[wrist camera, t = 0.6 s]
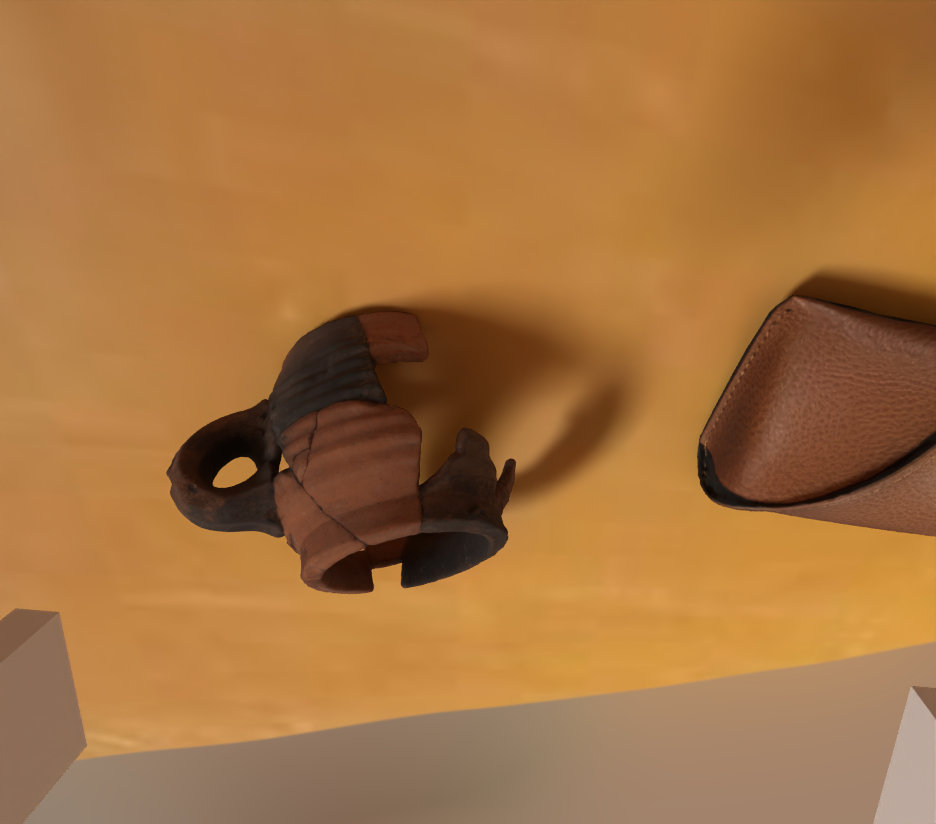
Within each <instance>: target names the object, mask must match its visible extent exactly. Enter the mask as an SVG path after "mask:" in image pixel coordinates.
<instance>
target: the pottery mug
mask: <svg viewBox="0 0 936 824" xmlns="http://www.w3.org/2000/svg"><path fill="white" fill-rule="evenodd" d="M427 356H428V345H427V342H426V340H425V339H424V337H423V335H422V332H421V328H420V326H419V323H418V320H417V318H416V316H414V315H412V314H410V313H401V312H374V313H368V314H361V315H359V316H349V317H346V318H342V319H339V320H337V321H333V322H328V323H325V324H324V325H322V326H320V327H319V328H317V329H315V330H313V331H310V332H308V333H307V334H306V335H304V336H303V337H301V338H300V339H299V340H298V341H297V342H296V344H295V345H294V347H293V348H292V349H291V350H290V351H289V353H288V355H287V356H286V358H285V360H284V362H283V366H282V370H281V372H280V374H279V376H278V379H277V381H276V383H275V385H274V388H273V392H272V393H271V394H270V396H269V399H268V400H267V399H264V400H262V401H261V402H260V403H258V404H257V405H256V406H254V407H252V408H250V409H247V410H244V411H240V412H236V413H233V414H230V415H227V416H224V417H221V418H219V419H217V420H215V421H213V422H211V423H209V424H207V425H206V426H204V427H202V428H201V429H199V430H198V431H197V432H196V433H194V434H193V435H192V436H191V437H190V438H189V439H188V440H187V441H186V442H185V443H184V444H183V445H182V446H181V448H180V450H179V451H178V452H177V453H176V455H175V457H174V458H173V460H172V464H171V466H170V467H169V469H168V470H167V472H166V473H167V476H168V477H169V478H170V480H171V483H172V487H171V490H170V495H171V497H172V499H173V501H174V502H175V504H176V506H177V508H178V510H179V511H180V512H181V513H182V514H183V515H184V516H185V517H186V518H187V519H188V520H190V521H191V522H192V523H194V524H195V525H197V526H199V527H201V528H204V529H208V530H213V531H222V532H239V531H259V532H263V533H266V534H269V535H271V536H274V537H277V538H279V537H283V536H284V535H285V536H286V539H287V544H288V545H289V546H290V547H291V548H292V549H293V550H294V551H295V552H296V553H298V554H300V558H301V574H300V575H301V579H302V580H303V581H304V583H305V584H307V585H308V586H309V587H311V588H314V589H316V590H318V591H323V592H332V593H340V594H360V593H368V592H372V591H373V589H374V584H373V580H372V572H371V570H372V569H375V568H382V567H387V566H391V565H396V564H399V563H402V571H401V577H402V578H401V586H402V587H403V588H410V587H414V586H420V585H424V584H427V583H431V582H435V581H437V580H440V579H444V578H447V577H450V576H453V575H455V574H458V573H461V572H463V571H465V570H468V569H470V568H472V567H474V566H476V565H478V564H479V563H480V562H482V561H485V560H487V559H488V558H490V557H492V556H494V555H495V554H496V553H497V552H498V551H499V550H500V549H501V548H503V547H504V545H505V544H506V542H507V540H508V531H507V529H506V527H505V526H504V524H503V521H502V517H501V515H502V513H503V509H504V507H505V506H506V504H507V503H508V501H509V496H510V493H511V491H512V487H513V484H514V479H515V467H516V461H515V460H514V459H508V460H507V461H506V462H505V465H504V469H503V472H502V474H501V476H500V478H499V480H498V481H497V478H496V468H495V465H494V464H493V462H492V460H491V458H490V456H489V444H488V442H487V440H486V439H485V438H484V437H483V436H481V435H480V434H478V433H476V432H475V431H473V430H472V429H468V428H463V429H461V430H460V431H459V433H458V435H457V439H456V451H455V452H454V453H453V454H452V455H450V457H449V458H448V460H447V461H446V462H445V464H444V465H443V466H442V467H441V468H440V469H439V470H438V472H437V473H436V474H434V475H433V476H431V477H430V478H429V479H428V480H427V481H425V482H424V483H423V484H421V485H419V478H420V454H421V442H422V430H421V428H420V427H419V426H418V424H417V422H416V420H415V419H414V417H413V416H412V415H411V414H410V413H409V412H408V411H407V410H405V409H402V408H399V407H396V406H391V405H387V398H386V395H385V392H384V390H383V389H382V387H381V385H380V382H379V380H378V377H377V374H376V372H375V366H376V365H383V364H387V363H397V362H423V361H425V360H426V359H427ZM282 454H283V457H284V458H285V460H286V462H287V463H288V465H289V468H287V469H284V470H282V471H281V472H279V465H280V462H281V457H282ZM239 457H249V458H250V459H252V460H253V461H254V462H255V464H256V467H257V469H258V470H257V471H256V473H255V474H254V475H252V476H251V477H250V478H249V479H247V480H246V481H244V482H242V483H240V484H237V485H235V486H232V487H228V488H217V487H214V486H213V480H214V478H215V476H216V475H217V473H218V472H219V470H220V469H221V468H222V467H224V466H225V465H226V464H227V463H229V462H230V461H232V460H233V459H235V458H239ZM362 549H364V550H362ZM359 550H362V551H359Z"/></svg>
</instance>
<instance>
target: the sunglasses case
mask: <svg viewBox="0 0 936 824" xmlns="http://www.w3.org/2000/svg"><path fill="white" fill-rule="evenodd" d="M697 458H698V476H699V479H700V485H701V487H702V488H703V491H704V492H705V494H706V495H707V496H708V497H709V498H710V499H711V500H712V501H713V502H715V503H717V504H718V505H721V506H723V507H728V508H733V509H736V510H748V511H768V512H775V513H780V514H785V515H790V516H797V517H802V518H809V519H815V520H821V521H828V522H834V523H840V524H847V525H853V526H861V527H869V528H874V529H882V530H888V531H896V532H904V533H911V534H919V535H926V536H936V326H935V325H931V324H926V323H921V322H916V321H911V320H906V319H901V318H895V317H890V316H884V315H879V314H875V313H872V312H869V311H865V310H862V309H858V308H855V307H851V306H847V305H842V304H838V303H834V302H830V301H825V300H821V299H817V298H813V297H807V296H797V295H792V296H791V297H789V298H788V299H786V300H785V301H783V302H781V303H780V304H778V305H777V306H776V307H775V308H774V309H773V310H771V311H770V312H769V314H768V316H767V317H766V319H765V321H764V322H763V324H762V326H761V327H760V329H759V330H758V332H757V333H756V335H755V336H754V338H753V340H752V341H751V343H750V344H749V346H748V347H747V349H746V351H745V353H744V354H743V356H742V358H741V360H740V362H739V364H738V365H737V367H736V369H735V371H734V372H733V374H732V376H731V378H730V380H729V382H728V384H727V386H726V387H725V389H724V391H723V393H722V395H721V397H720V399H719V400H718V402H717V404H716V406H715V408H714V409H713V412H712V414H711V416H710V418H709V420H708V422H707V423H706V426H705V428H704V430H703V432H702V434H701V435H700V439H699V447H698V454H697Z"/></svg>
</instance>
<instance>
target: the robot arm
mask: <svg viewBox="0 0 936 824" xmlns="http://www.w3.org/2000/svg"><path fill="white" fill-rule="evenodd" d="M86 746H87V743H86V739H85V734H84V729H83V724H82V719H81V715H80V710H79V705H78V700H77V695H76V691H75V686H74V681H73V676H72V671H71V667H70V662H69V657H68V652H67V647H66V643H65V638H64V633H63V628H62V623H61V619H60V614H59V612H51V611H39V610H28V609H14V610H13V611H12V612H11V613H9V614H8V615H7V616H6V617H4V618H3V619H2V620H1V621H0V824H23V822H24V821H25V820H26V818H28V816H29V815H30V814H31V813H32V811H33V810H34V809H35V808H36V807H37V805H38V804H39V803H40V802H41V801H42V799H43V798H44V797H45V796H46V794H47V793H48V792H49V791H50V790H51V788H52V787H53V786H54V785H55V784H56V782H57V781H58V780H59V779H60V778H61V776H62V775H63V774H64V773H65V772H66V770H67V769H68V768H69V766H70V765H71V764H72V763H73V762H74V761H75V759H76V758H77V757H78V756H79V755H80V753H81V752H82V751H83V750H84V749H85V747H86ZM873 824H936V688H928V687H916V686H911V689H910V693H909V696H908V700H907V704H906V707H905V711H904V715H903V718H902V722H901V725H900V729H899V732H898V736H897V740H896V743H895V747H894V751H893V754H892V758H891V762H890V765H889V769H888V773H887V776H886V780H885V783H884V787H883V791H882V794H881V798H880V801H879V805H878V809H877V812H876V816H875V820H874V823H873Z"/></svg>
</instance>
